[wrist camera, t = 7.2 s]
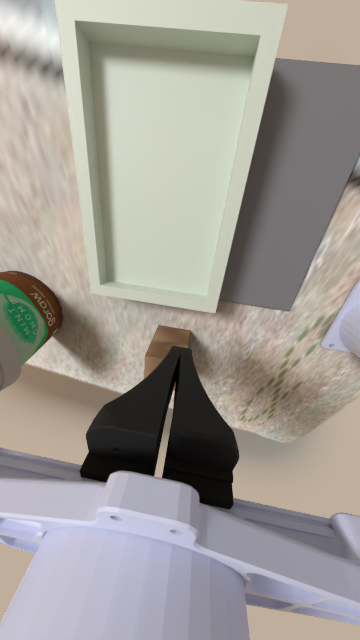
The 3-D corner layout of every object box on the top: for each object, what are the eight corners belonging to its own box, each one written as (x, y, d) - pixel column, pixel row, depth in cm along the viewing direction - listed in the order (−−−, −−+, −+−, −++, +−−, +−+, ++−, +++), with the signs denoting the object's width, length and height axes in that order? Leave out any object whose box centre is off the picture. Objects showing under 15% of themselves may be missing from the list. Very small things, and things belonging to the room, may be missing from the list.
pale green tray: (268, 56, 12) (288, 3, 9) (214, 299, 20) (215, 313, 17) (89, 41, 13) (53, -14, 10) (107, 282, 21) (90, 293, 18)
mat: (390, 74, 12) (397, 68, 12) (287, 308, 20) (288, 310, 20) (66, 45, 13) (62, 39, 13) (93, 278, 22) (90, 279, 21)
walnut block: (190, 330, 23) (185, 363, 18) (185, 355, 25) (180, 391, 20) (158, 325, 24) (144, 355, 18) (156, 350, 26) (144, 384, 20)
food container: (90, 331, 25) (29, 390, 17) (57, 343, 27) (-13, 402, 19) (24, 240, 21) (-110, 257, 12) (-11, 262, 22) (-149, 291, 14)
